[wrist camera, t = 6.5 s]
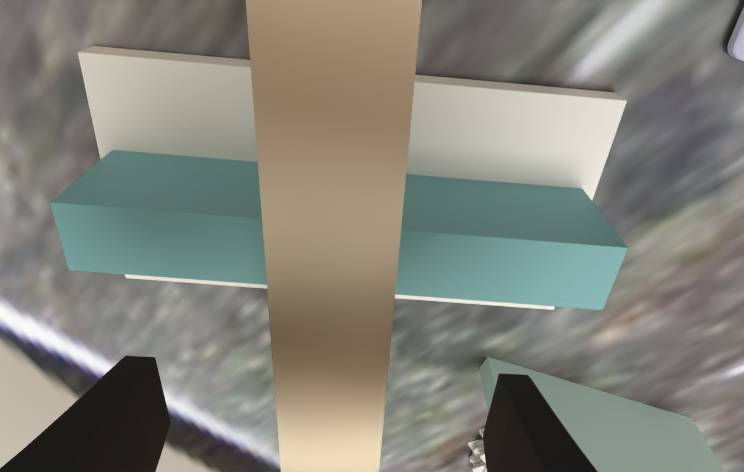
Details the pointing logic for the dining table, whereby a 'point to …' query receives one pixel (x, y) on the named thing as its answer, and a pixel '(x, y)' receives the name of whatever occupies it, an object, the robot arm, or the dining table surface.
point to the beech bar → (332, 213)
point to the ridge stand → (421, 197)
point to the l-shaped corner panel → (610, 427)
